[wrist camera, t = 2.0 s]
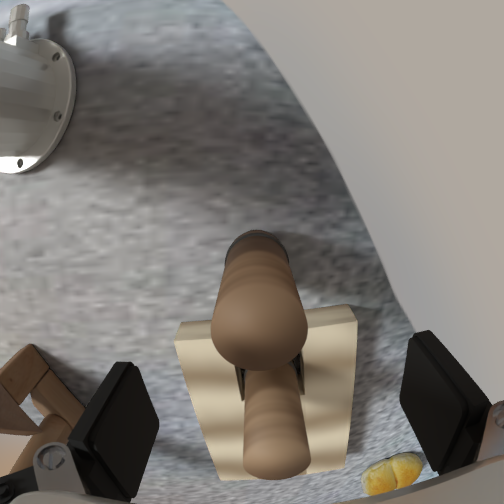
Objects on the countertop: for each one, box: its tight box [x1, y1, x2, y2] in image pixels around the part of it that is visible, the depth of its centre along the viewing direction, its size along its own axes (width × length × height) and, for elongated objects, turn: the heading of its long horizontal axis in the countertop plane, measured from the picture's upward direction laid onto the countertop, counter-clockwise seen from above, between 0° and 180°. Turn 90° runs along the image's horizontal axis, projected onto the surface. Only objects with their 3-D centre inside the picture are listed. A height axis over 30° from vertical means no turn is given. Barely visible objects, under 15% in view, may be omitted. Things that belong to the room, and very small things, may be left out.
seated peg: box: [243, 359, 311, 480], centre depth 21 cm, size 4×4×12 cm
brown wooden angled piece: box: [0, 344, 85, 475], centre depth 20 cm, size 4×11×18 cm, turn 30°
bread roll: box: [361, 453, 422, 496], centre depth 32 cm, size 8×9×4 cm
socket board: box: [174, 304, 358, 480], centre depth 27 cm, size 20×14×3 cm
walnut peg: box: [211, 230, 308, 371], centre depth 19 cm, size 4×4×12 cm
